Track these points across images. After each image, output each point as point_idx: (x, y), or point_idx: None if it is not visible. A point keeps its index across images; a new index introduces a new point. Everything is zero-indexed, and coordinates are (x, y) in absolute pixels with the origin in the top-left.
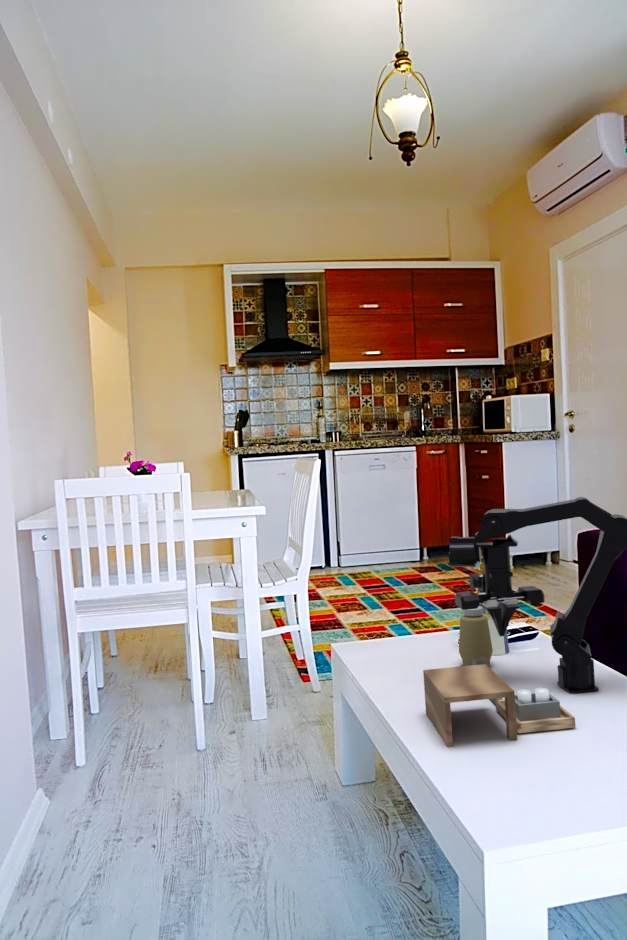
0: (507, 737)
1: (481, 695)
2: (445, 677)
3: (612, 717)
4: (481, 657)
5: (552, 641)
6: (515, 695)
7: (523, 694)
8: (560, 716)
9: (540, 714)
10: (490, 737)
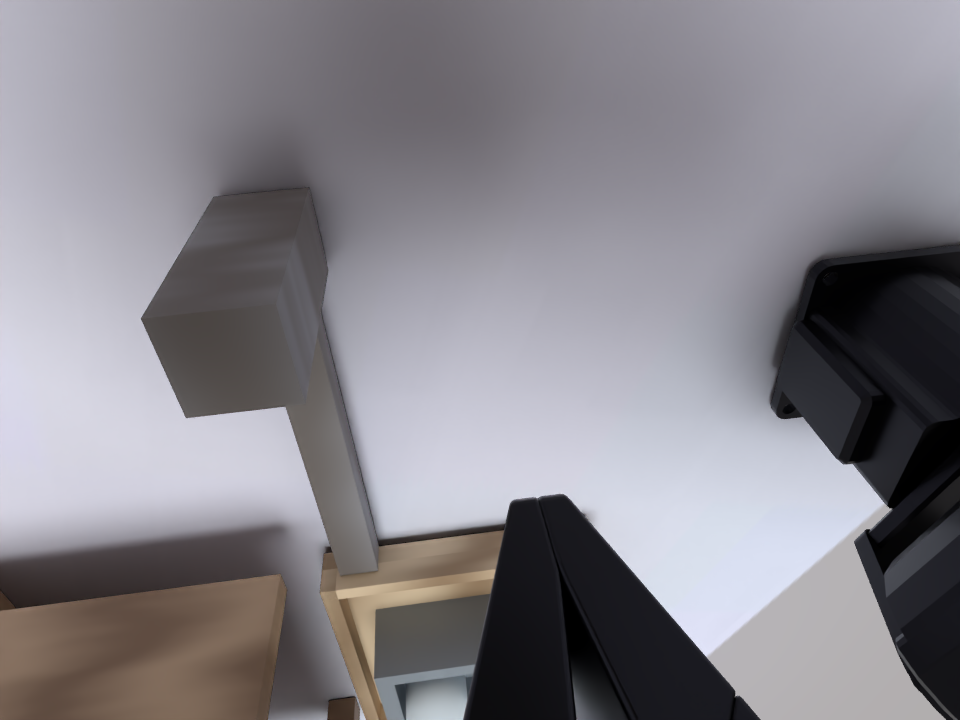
0: (329, 704)
1: None
2: None
3: (751, 599)
4: (256, 331)
5: (916, 677)
6: (408, 679)
7: None
8: None
9: None
10: (270, 700)
